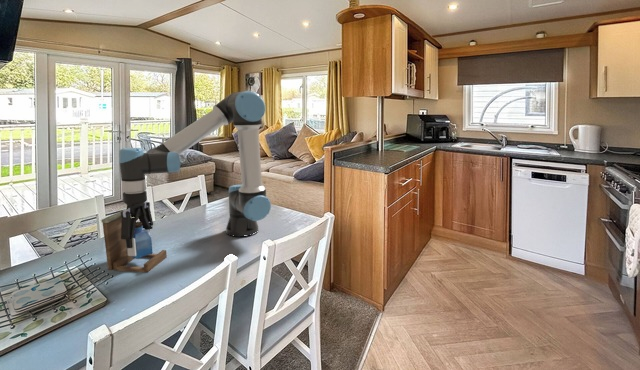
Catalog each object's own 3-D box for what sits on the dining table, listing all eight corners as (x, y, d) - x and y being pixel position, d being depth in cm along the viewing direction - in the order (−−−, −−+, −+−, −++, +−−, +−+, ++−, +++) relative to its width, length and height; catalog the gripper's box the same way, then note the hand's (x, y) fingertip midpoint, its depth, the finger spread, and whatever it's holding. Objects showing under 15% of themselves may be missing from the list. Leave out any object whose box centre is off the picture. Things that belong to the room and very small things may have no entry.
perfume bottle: (143, 249, 130) (141, 219, 127) (152, 253, 126) (150, 222, 124) (127, 254, 125) (124, 223, 122) (136, 258, 121) (133, 227, 119)
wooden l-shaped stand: (167, 256, 133) (163, 210, 129) (147, 272, 119) (142, 221, 115) (131, 254, 134) (126, 208, 130) (107, 270, 120) (101, 219, 116)
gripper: (142, 184, 131) (146, 239, 136) (103, 198, 110) (110, 262, 115) (160, 185, 131) (164, 240, 135) (125, 199, 110) (131, 263, 115)
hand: (139, 250), depth 125 cm, fingers closed on perfume bottle, 8 cm apart
